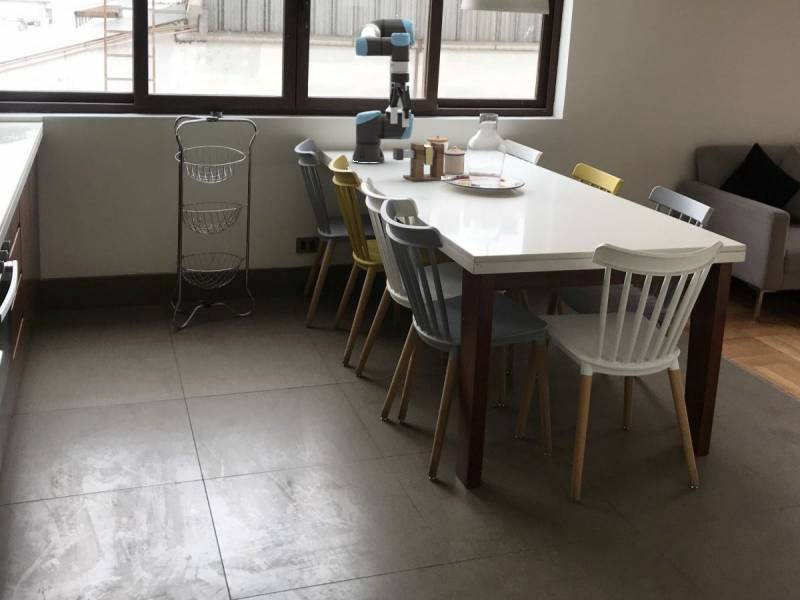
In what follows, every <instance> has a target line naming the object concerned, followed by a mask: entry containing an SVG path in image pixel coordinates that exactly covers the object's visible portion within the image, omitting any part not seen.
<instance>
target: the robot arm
mask: <svg viewBox="0 0 800 600" xmlns="http://www.w3.org/2000/svg"><path fill="white" fill-rule="evenodd" d="M412 21H413V20H411V19H408V18H407V19H406V18H374V19H371V20H369V21H367V22H365V23H363V24H362V26H361V27H360V29H359V32H358V37H356V38H355V55H356V56H358V57H388V58H389V60H388V61H389V62H388V63H389V64H388V66H389V67H388V69H389V70H388V72H389V73H388V76H389V77H388V80H389V81H388V107H387V108H386V109H385V113H382V111H381V110H370V111H369V110H367V111H363V112H359V113H358V114H357V115H356V117H355V147H354V150H353V154H352V157H351V158H352V159H351V161H352V160H354V161H358V162H383V161H384V162H385V154H384V151H383V148H382V145H381V144H382V143H381V142H382V140H400V141H401V140H409V139H411V136H412V131H413V124H414V116H415V115H414V114H412V112H411V111H412V109H413V107H412V100H411V96H410V94H411V93H410V85H409V83H410V71H411V70H410V69H411V64H410V63H411V62H410V58H411V57H410V53H411V51H412V48H413V47H414V46H416V42H415V34H414V32H415V31H414V25H413V22H412ZM384 162H383V163H384Z"/></svg>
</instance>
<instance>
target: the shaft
mask: <svg viewBox="0 0 800 600" xmlns="http://www.w3.org/2000/svg"><path fill="white" fill-rule="evenodd" d="M424 157H425V150H424ZM433 157H436V149H433ZM410 158H416V149H411V148H410V149H403V148H400V147H397V148H394V147H393V148H392V159H393V160H395V161H404V159H410Z"/></svg>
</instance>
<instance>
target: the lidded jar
mask: <svg viewBox="0 0 800 600" xmlns="http://www.w3.org/2000/svg"><path fill="white" fill-rule="evenodd" d="M426 141H427V144H426V145H429V146H430V143H431V142H440V143H443V144H444V153H445V151H448V150H449V149H448V148H449V142H450V139H449V138H448V137H440V135H439V134H437V135H436V137H435V136H434V137H428V138H427V139H426Z"/></svg>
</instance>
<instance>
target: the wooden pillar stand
mask: <svg viewBox="0 0 800 600" xmlns="http://www.w3.org/2000/svg"><path fill="white" fill-rule="evenodd" d="M424 145H425V144H423V143H420V142H416V141H415V142H410V150H411V149H416V158H409V159H410V162H409V163H410V164H409V165H410V169H409V171H410V172H409V173H410V174H403V176H402V178H403V179H404V180H407V181H410V182H412V183H422V182H425V183H427V182H442V181H441V176H446V175H445V172H444V166H445V154H444V144H443V143H440V142H431V143H430V146H432V147H433V149H436V157H433V159H432V165H429V173H425V165H424Z"/></svg>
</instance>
